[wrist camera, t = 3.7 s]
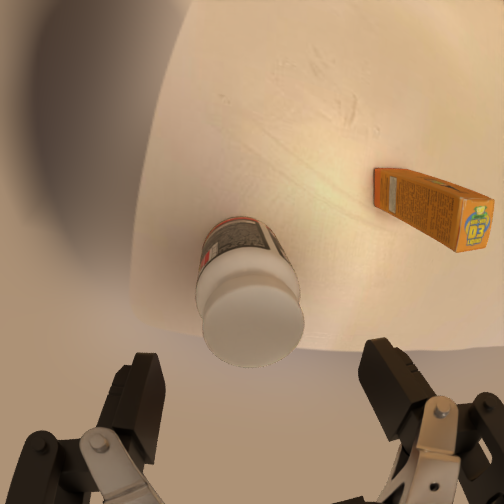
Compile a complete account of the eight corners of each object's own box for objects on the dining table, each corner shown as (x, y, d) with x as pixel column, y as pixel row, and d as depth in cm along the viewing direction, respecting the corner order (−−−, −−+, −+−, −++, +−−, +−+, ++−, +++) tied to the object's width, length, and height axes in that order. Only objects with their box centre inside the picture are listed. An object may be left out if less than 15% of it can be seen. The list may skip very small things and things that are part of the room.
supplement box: (372, 210, 22) (453, 256, 12) (373, 167, 20) (462, 190, 11) (404, 208, 22) (488, 250, 13) (406, 168, 21) (497, 192, 11)
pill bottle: (191, 269, 22) (172, 354, 13) (221, 202, 20) (219, 251, 11) (258, 295, 23) (277, 385, 14) (291, 234, 22) (338, 301, 13)
